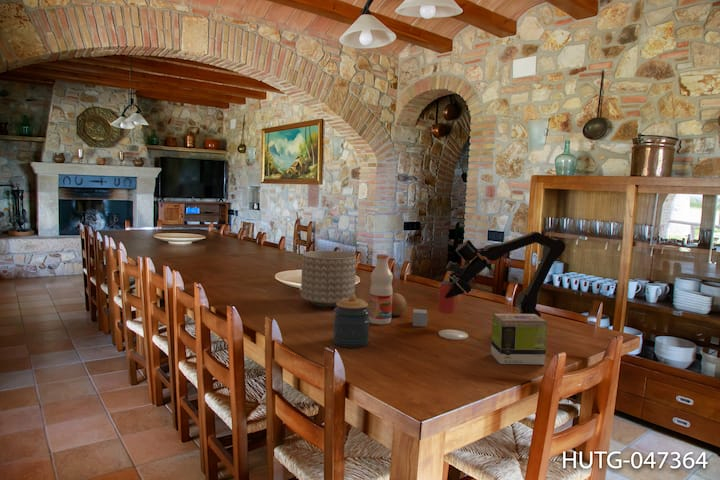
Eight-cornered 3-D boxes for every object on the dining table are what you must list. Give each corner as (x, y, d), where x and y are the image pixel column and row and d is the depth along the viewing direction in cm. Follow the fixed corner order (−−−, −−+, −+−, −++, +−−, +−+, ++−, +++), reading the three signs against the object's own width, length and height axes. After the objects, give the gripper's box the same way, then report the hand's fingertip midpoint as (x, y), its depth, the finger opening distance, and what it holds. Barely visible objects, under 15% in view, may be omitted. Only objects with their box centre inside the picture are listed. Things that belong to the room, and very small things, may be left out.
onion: (405, 319, 201) (406, 296, 200) (382, 317, 203) (383, 294, 202) (407, 313, 211) (408, 291, 210) (385, 311, 213) (386, 290, 211)
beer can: (455, 314, 186) (457, 284, 185) (438, 313, 187) (440, 284, 185) (454, 310, 192) (455, 281, 191) (437, 309, 193) (439, 280, 192)
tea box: (532, 355, 162) (536, 313, 161) (545, 365, 152) (548, 321, 151) (489, 354, 162) (492, 311, 160) (499, 364, 152) (502, 319, 150)
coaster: (473, 338, 178) (473, 336, 178) (449, 341, 174) (449, 339, 174) (456, 330, 188) (456, 328, 188) (433, 332, 184) (433, 330, 184)
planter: (292, 308, 212) (293, 256, 210) (311, 296, 236) (312, 249, 234) (346, 314, 206) (348, 260, 204) (359, 301, 231) (361, 253, 228)
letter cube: (426, 323, 197) (427, 310, 196) (426, 326, 192) (427, 313, 191) (412, 322, 198) (413, 309, 197) (412, 326, 192) (413, 312, 191)
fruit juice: (375, 317, 202) (377, 252, 199) (394, 321, 198) (398, 255, 195) (364, 322, 194) (367, 255, 191) (384, 326, 190) (387, 257, 187)
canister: (348, 334, 177) (350, 288, 175) (376, 342, 169) (378, 294, 167) (324, 342, 167) (326, 293, 165) (352, 351, 159) (354, 300, 157)
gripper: (454, 251, 196) (427, 277, 198) (464, 258, 178) (433, 286, 179) (472, 271, 197) (445, 296, 198) (484, 279, 179) (453, 307, 180)
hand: (443, 295), depth 189 cm, fingers closed on beer can, 7 cm apart
